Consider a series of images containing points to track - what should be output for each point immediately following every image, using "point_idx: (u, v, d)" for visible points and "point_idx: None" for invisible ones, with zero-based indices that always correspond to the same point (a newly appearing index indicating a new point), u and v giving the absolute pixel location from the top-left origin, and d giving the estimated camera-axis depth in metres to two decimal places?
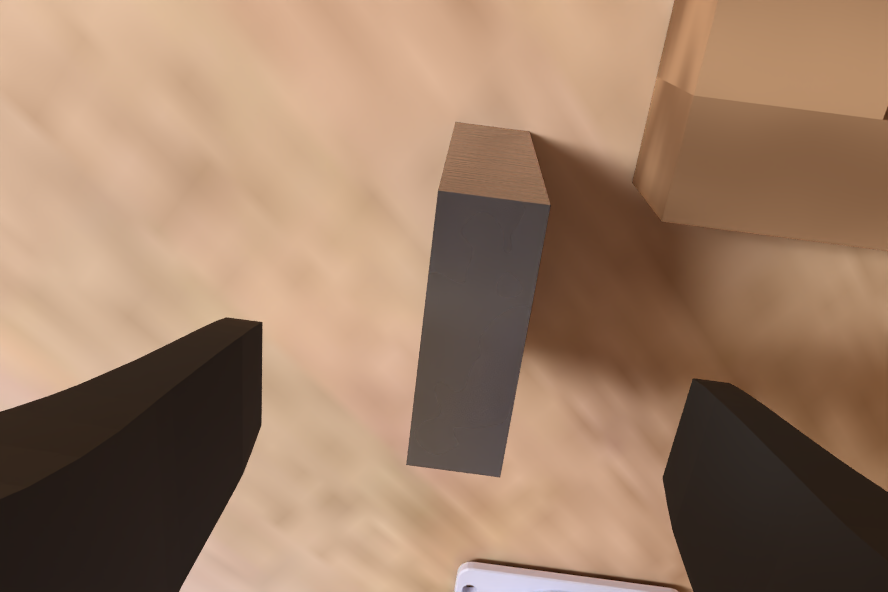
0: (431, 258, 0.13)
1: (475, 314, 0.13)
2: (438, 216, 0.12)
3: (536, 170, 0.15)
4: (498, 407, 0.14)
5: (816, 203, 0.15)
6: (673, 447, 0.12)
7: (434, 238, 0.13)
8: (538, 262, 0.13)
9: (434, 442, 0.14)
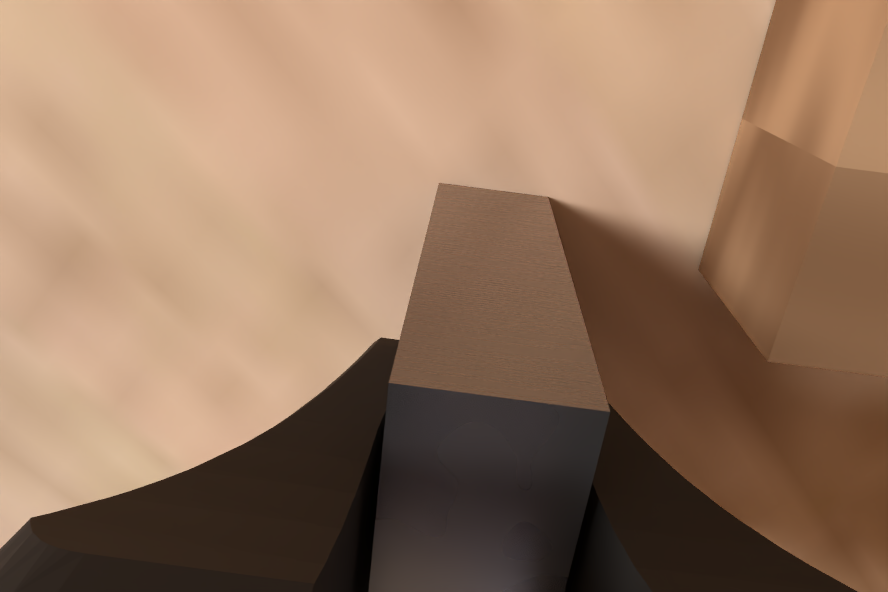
0: (380, 495, 0.07)
1: (462, 585, 0.07)
2: (390, 427, 0.06)
3: (569, 296, 0.09)
4: None
5: None
6: None
7: (384, 464, 0.07)
8: (583, 503, 0.07)
9: None
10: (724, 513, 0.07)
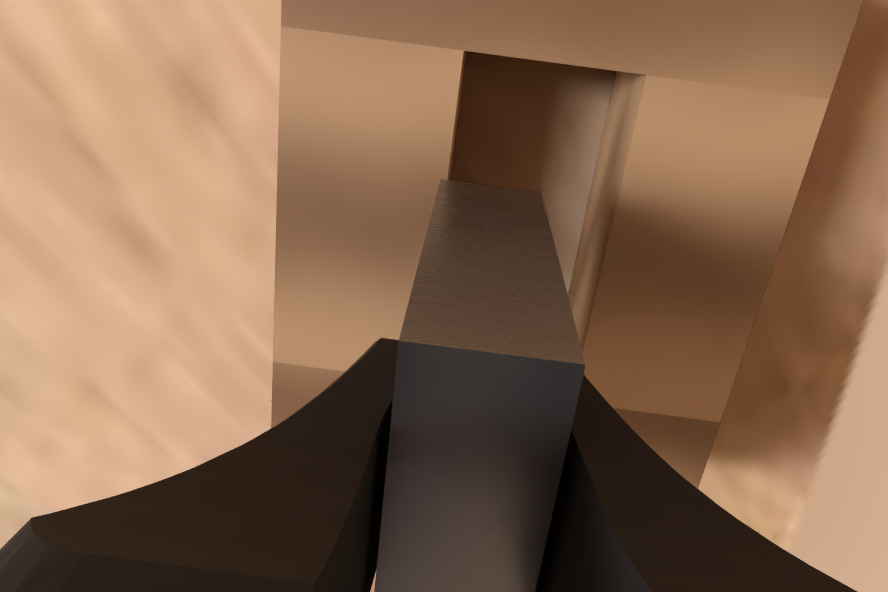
0: (390, 440, 0.08)
1: (461, 521, 0.08)
2: (400, 380, 0.08)
3: (555, 274, 0.10)
4: None
5: None
6: None
7: (394, 412, 0.08)
8: (565, 447, 0.08)
9: None
10: (723, 513, 0.07)
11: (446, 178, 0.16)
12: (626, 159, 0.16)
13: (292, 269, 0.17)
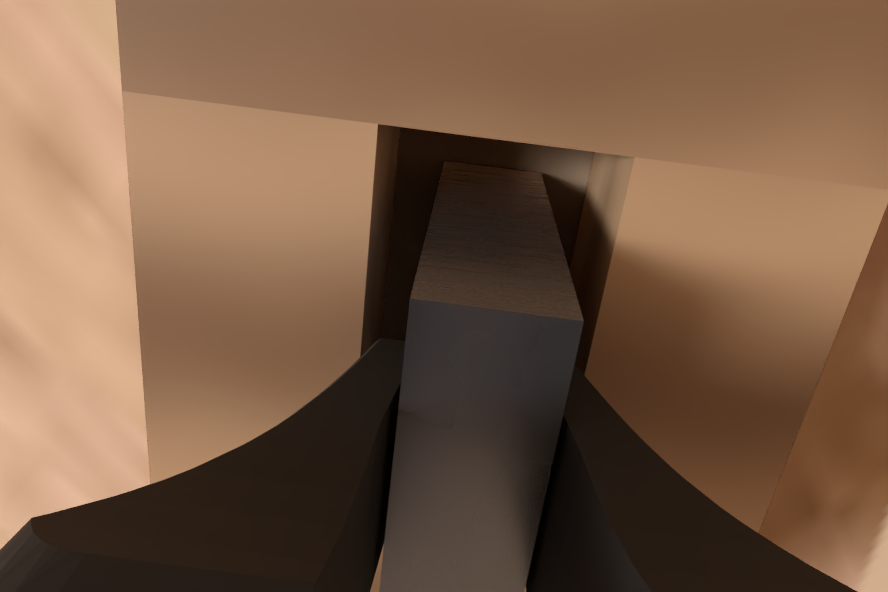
0: (401, 394, 0.08)
1: (466, 471, 0.09)
2: (410, 336, 0.08)
3: (555, 245, 0.10)
4: None
5: None
6: None
7: (405, 367, 0.08)
8: (564, 401, 0.08)
9: None
10: (723, 513, 0.07)
11: (363, 291, 0.12)
12: (608, 267, 0.12)
13: (167, 403, 0.13)
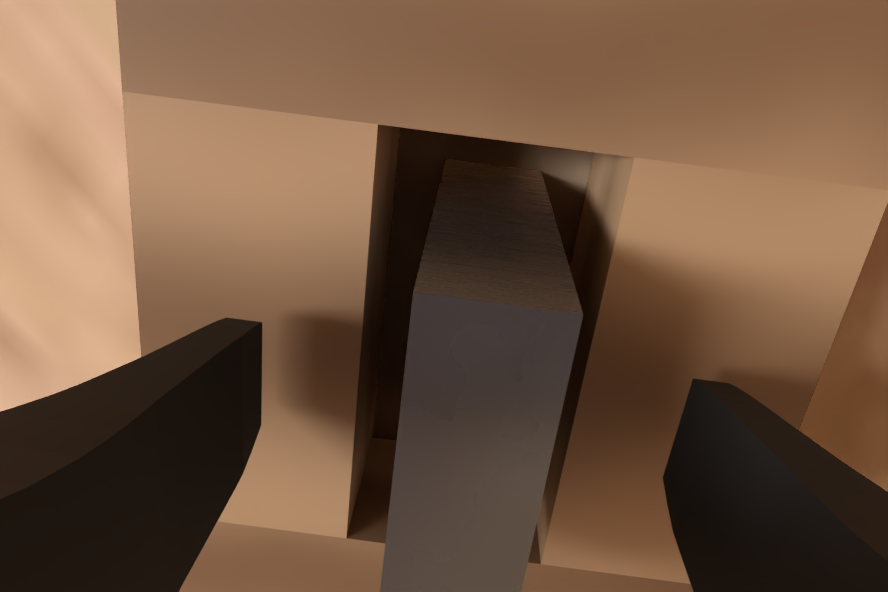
0: (404, 386, 0.09)
1: (468, 462, 0.09)
2: (414, 328, 0.08)
3: (556, 241, 0.10)
4: (502, 582, 0.10)
5: None
6: (673, 447, 0.12)
7: (408, 359, 0.08)
8: (563, 392, 0.09)
9: None
10: None
11: (363, 291, 0.12)
12: (608, 267, 0.12)
13: None
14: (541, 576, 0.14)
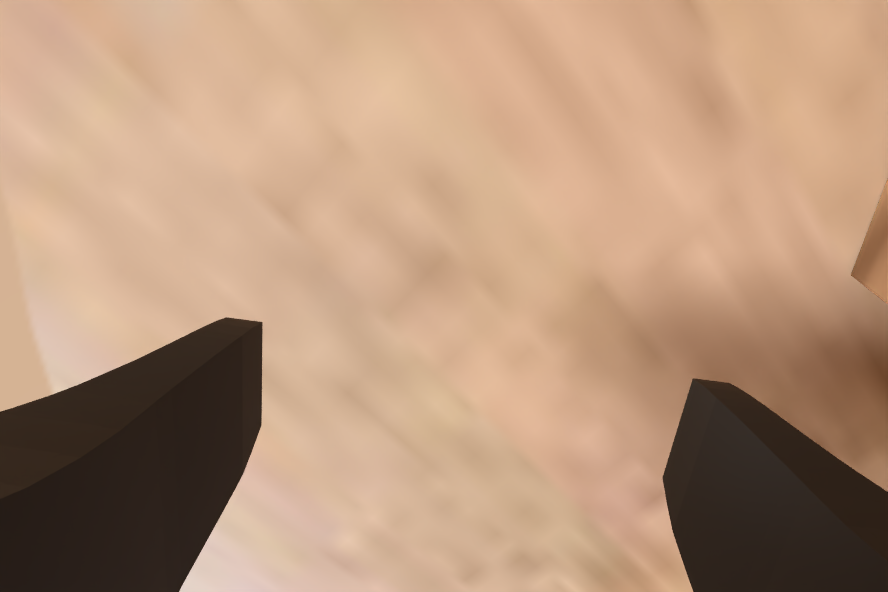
0: None
1: None
2: None
3: None
4: None
5: None
6: (673, 447, 0.12)
7: None
8: None
9: None
10: None
11: None
12: None
13: None
14: None
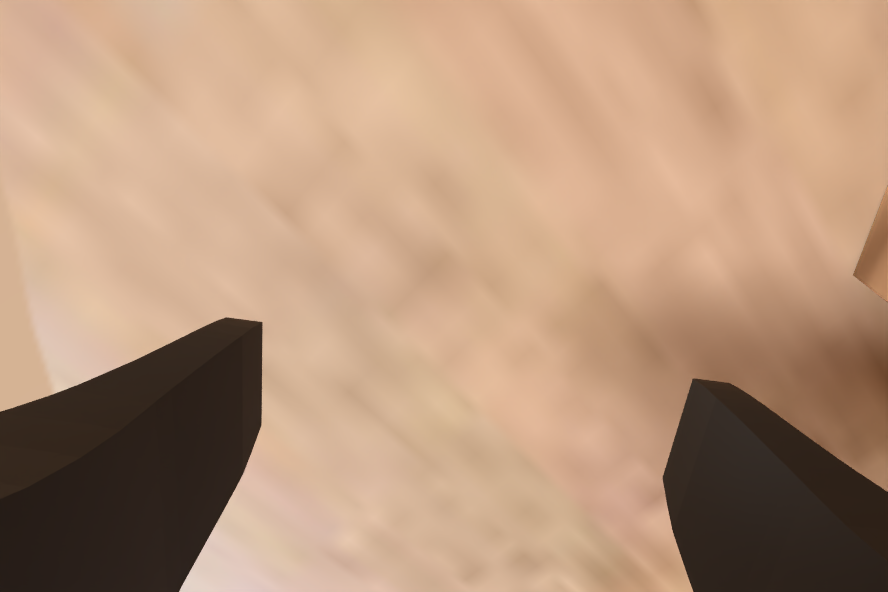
0: None
1: None
2: None
3: None
4: None
5: None
6: (673, 447, 0.12)
7: None
8: None
9: None
10: None
11: None
12: None
13: None
14: None
